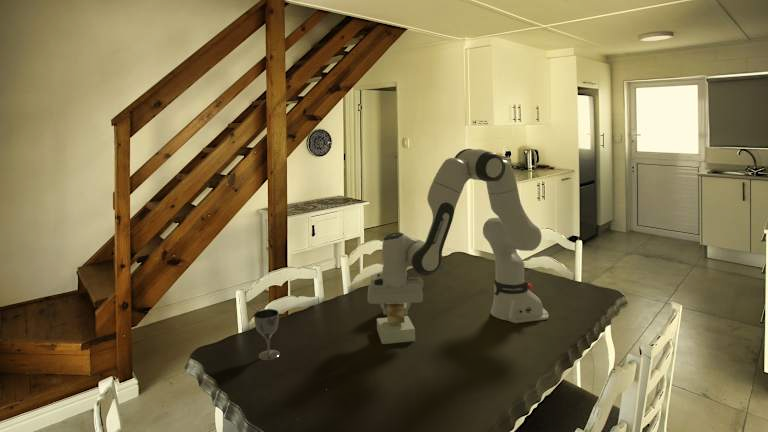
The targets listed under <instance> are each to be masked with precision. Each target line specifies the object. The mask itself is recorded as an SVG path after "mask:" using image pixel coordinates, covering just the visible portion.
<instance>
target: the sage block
mask: <svg viewBox="0 0 768 432" xmlns="http://www.w3.org/2000/svg"><path fill="white" fill-rule="evenodd" d="M376 331H377V333H378V337H379V339H380V342H381V344H382V345H387V344H397V343H399V344H400V343H408V342H410V343H411V342H416V328H415V327H414V325H413V322H412V320H411V319H410V317H409V316H408V315H404V323H388V320H387V317H378V318H376Z"/></svg>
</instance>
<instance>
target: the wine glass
mask: <svg viewBox="0 0 768 432" xmlns="http://www.w3.org/2000/svg"><path fill="white" fill-rule="evenodd" d="M253 318H254V319H253V320H254V326H255V329H256V332H257V333H259V334H260V335H261V336H263V338H264V339H265V341H266V345H267V348H266V349H267V350H263V351H261V352H260V353H259V354H258V359H259V360H262V361H271V360H274V359H276V358H278V357H279V356H280V355H281V354H280V353H281V352H280V351H278V350H276V349H271V348H270V345H271V342H270V341H271V338H272V336H273V335H274V333H276V331H277V329H278V327H279V310H277V309H272V308H266V309H265V308H264V309H261V310H258V311H256V312H254V314H253Z"/></svg>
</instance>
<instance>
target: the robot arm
mask: <svg viewBox="0 0 768 432" xmlns="http://www.w3.org/2000/svg"><path fill="white" fill-rule="evenodd" d="M470 179H471V180H475V181H476V180H477V181H483V182H485V185H486V189H487V195H488V199H489V204H490V208H491V211H492V212H493V213H494V214H495V215H496V216H497V217H491V218H488V219H487V220H486V221H485V222H484V223H483V227H482V234H483V238H484V239H486V241H487V242H488V243H489V246H490V248H491V250H492V253H493V256H494V261H495V262H494V265H495V279H494V280H493V294H494V295H493V302H492V305H491V310H490V314H491V315H492V316H493V317H495V318H496V319H499V320H502V321H503V320H504V321H508V322H511V323H513V324H519V323H520V324H521V323H528V322H536V321H544V320H548V319H549V312H548V311H547V310H546V309H545V308H544V307H543V303H542V301H541V299H540V298H539V296H537V295H536V294H534V293H533V292H532V291H531V290H532V289H533V285H532V284H531V283H529V282H528V281H527V280H525V262H524V260H523V258H522V257H521V256H520V255H519V254H518V252H517V250H518V251H521V252H522V251H523V252H525V251H526V252H527V251H528V252H531V251H535V250H536V249H537V248H538V247H539V246H540V244H541V242H542V238H543V237H542V232H541V230H540V228H539V227H538V226H537V225H535V224H534V222H532V221H531V219H530V218H529V216H528V215H527V213H526V211H525V209H524V208H523V207H524V206H523V205H522V202H521V198H520V194H519V189H518V183H517V178H516V175H515V173H514V169H513V167H512V165H511V163H510V162H509V161H508V160H506V159H503V158H502V157H501V156H500V155H499V154H497V153H496V152H494V151H490V150H489V151H488V150H485V149H479V148H477V149H473V148H465V149H462V150H460V151H459V152H458V153H457V154H456V155H454V157H450V158H449V157H448V158H446V159H445V160H444V162H442V164H441V166H440V167H439V169H438V171H437V172H436V173H435V176H434V178H433V180H432V182H431V184H430V187H429V189H428V193H427V203H428V206H429V208H430V210H431V213H432V221H431V225H430V228H429V231H428V233H427V237H426V240H425V242H424V241H423V240H420V239H417V238H412V237H410V236H408V235H406V234H404V233H403V232H392V233H389V234H387V235H385V237H384V238H383V240H382V244H381V245H382V246H381V247H382V248H381V249H382V251H381V258H382V259H381V260H382V263H383V265H382V268H381V269H382V271H380V272H376V273H374V274H371V276H370V283H369V284H368V290H367V303H368V304H370V305H377V304H378V305H380V306H379V307H380V308H381V309H382V311H383V315H386V316H387V308H385V304H386V305H387V303H407V306H406V308H404V314H405V315H408V314H409V313H408V312H409V311H408V310H409V308H410V307H411V304H412V303H422V302H423V300H424V293H423V288H424V285H425V284H424V282H425V281H424V280H423V278H421V277H420V276H425V277H427V276H432V275H434V274H435V273H436V272H438V270H439V269H440V268H441V265H442V261H443V249H444V246H445V243H446V240H447V237H448V234H449V231H450V229H451V226H452V222H453V219H454V214H455V210H456V207H457V204H458V202H459V199H460V197H461V195H462V192H463V189H464V187H465V184H466V183H467V182H468V181H469V180H470ZM409 267H412V268H413V269H414V271H415V272H416V273H417V274H419V275H420V276H408V268H409Z"/></svg>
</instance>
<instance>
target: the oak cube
mask: <svg viewBox="0 0 768 432" xmlns="http://www.w3.org/2000/svg"><path fill="white" fill-rule="evenodd" d="M386 309H387V315H386V318H387V320H388V323H404V316H405V315H404V304H403V303H387V304H386Z"/></svg>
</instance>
